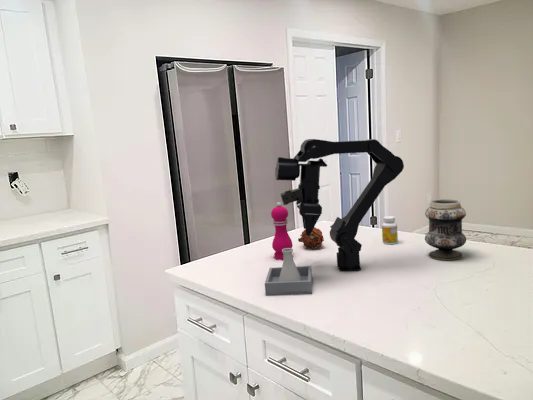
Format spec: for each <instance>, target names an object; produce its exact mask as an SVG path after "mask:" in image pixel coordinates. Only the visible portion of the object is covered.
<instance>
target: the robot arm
mask: <svg viewBox="0 0 533 400" xmlns="http://www.w3.org/2000/svg"><path fill="white" fill-rule="evenodd" d="M357 153H359V154H360V153H367V154H368V155H369V157H370V159H372V161H373V162H374V163H375V165H374V168H373V172H372V176H371V179H370V180H369V182H368V183H367V184H366V186H365V188H364V189H363V190H362V192H361V194H360V195H359V196H358V198H357V199H356V200H355V202H354V203H353V205H352V207H351V208H350V210H349V211H348V212H347V214H346V215H345V216H344V217H342V218H341V217H339V216H337V217H336V218H335V220H334V223H333V224H331V225H330V231H329V238H330V239H331V240H332V241H333V242H334V243H335V244H336V246H337V252H336V265H337V268H338V270H339V271H340V272H345V271H346V272H347V271H349V272H350V271H361V270H362V267H361V263H360V262H361V261H360V260H361V259H360V252H361V249H362V246H363V245H362V243H360V242H359V240H356V239H355V238H356V236H357V234H358V229H359V225H360V223H361V222H362V221H363V218H364V217H365V215H367V213H368V211H369V210H370V209H371V207H372V206H373V204H374V202H375V201H376V200H377V198H378V197H379V195H380V194H381V192H382V191H383V189H384V188H385V187H386V186H387V185H388V184H390V183H391V182H392V181H394V180H395V179H396V178H397V177H398V176H399V175H400V174H402V172H403V170H404V167H405V166H404V165H405V164H404V161H403V159H402V158H401V157H400V156H398V155H394V153H393V152H392V151H390V150H389V149H388V148H386V147H385V146H383V144H382V143H380V142H379V140H378V139H375V138H370V139H366V140H363V139H362V140H345V141H343V140H342V141H330V140H325V139H317V138H309V139H305V140H303V142H302V143H301V145H300V150H299V151H298V152H297V154H295V156H294V157H293V158H291V157H282V156H281V157H280V156H278V157H277V159H276V160H277V161H276V164H275V165H276V167H275V170H274V172H275V173H274V175H275V176H274V177H275V180H276V181H292V182H293V181H296V180H297V179H298V178H300V179H299V184H298V187H297V188H295V189H288V190H285V191H284V192H282V193H280V196H281V200H282V203H283V206H286V205H289V204H291V203H294V202H296V208H297V209H298V214H299V215H300V216H301V219H302V226H303V229H304V230H305V231H306V235H307V236H310V234H311V232H312V230H313V228H314V227H315V226H316V224H317V222H318V220H319V219H320V217H321V215H322V213H323V207H322V205H321V204H320V199H319V193H320V191H319V190H321V189H320V187H321V186H320V178H321V177H320V176H321V167H322V168H323V167H324V168H326V167H328V164H327V163H326V162H325V161H324V159H323V158H324V157H325V158H326V157H328V156H332V155H340V154H343V155H344V154H357ZM311 159H312V160H311ZM316 159H318V160H316Z"/></svg>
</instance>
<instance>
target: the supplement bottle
mask: <svg viewBox="0 0 533 400" xmlns="http://www.w3.org/2000/svg"><path fill="white" fill-rule="evenodd" d="M395 221H396V216H394V215H393V216H392V215H385V216H383V223H382V224H381V233H382V235H381V237H382V243H383V244H384V245H391V246H393V245H396V244H398V242H399V238H398V237H399V236H398V235H399V234H398V223H397V222H395Z"/></svg>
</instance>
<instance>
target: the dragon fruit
mask: <svg viewBox="0 0 533 400" xmlns="http://www.w3.org/2000/svg"><path fill="white" fill-rule="evenodd" d="M297 241H298V242H299V243H303V246H304V247H305V248H310V249H317V248H318V247H319V246H322V244H323V242H325V239H324V235H323V232H322V231H321V229H320V228H317V227H315V226H314V228H313V230H312V232H311V234H310V236H307V235H306V231H305V229H304V230H302V231H301V234H300V235H299V237H298V238H297Z"/></svg>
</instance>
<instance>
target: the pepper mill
mask: <svg viewBox="0 0 533 400" xmlns="http://www.w3.org/2000/svg"><path fill="white" fill-rule="evenodd" d="M275 205H276V206H275V207H274V208H272V210H271V212H270V215H271V218H272V219H273V220H272V223H273V225H274V228H275V229H274V230H275V231H274V232H275V233H274V235H273V239H272V243H271V244H272V246H271V247H272V250H273V251H275V252H274V253H273V254H274V259H275V260H279V261H283V258H284V257H283V253H282V249H284V248H292V249H293V242H292V239H291V236H290V235H289V233H288V230H287V229H288V227H287V225H288V217H289V211H288V208H286V207H285V206H282V203H281V202H280V201H279V202H278V201H277V203H276V204H275Z"/></svg>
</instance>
